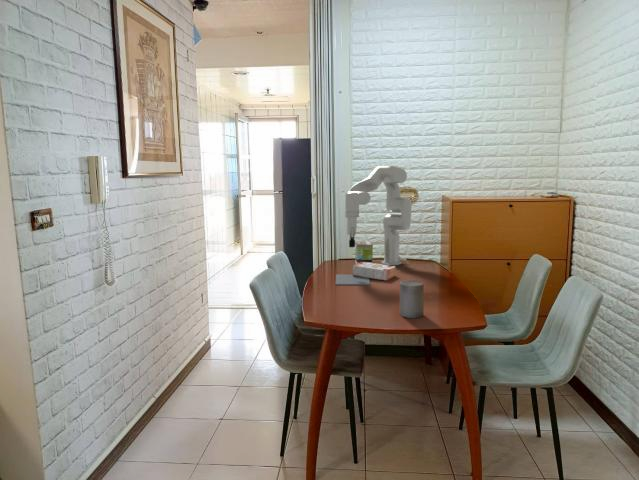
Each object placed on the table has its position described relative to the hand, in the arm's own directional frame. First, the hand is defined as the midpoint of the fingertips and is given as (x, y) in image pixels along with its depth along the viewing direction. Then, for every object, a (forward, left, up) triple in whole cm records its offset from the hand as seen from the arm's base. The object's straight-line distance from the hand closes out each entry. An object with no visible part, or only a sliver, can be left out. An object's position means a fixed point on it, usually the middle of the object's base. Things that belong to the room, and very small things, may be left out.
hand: (352, 247), depth 264 cm
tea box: (-8, -30, -17) cm, 35 cm away
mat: (0, +10, -17) cm, 20 cm away
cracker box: (-3, -3, -13) cm, 13 cm away
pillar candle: (-23, +72, -17) cm, 77 cm away
